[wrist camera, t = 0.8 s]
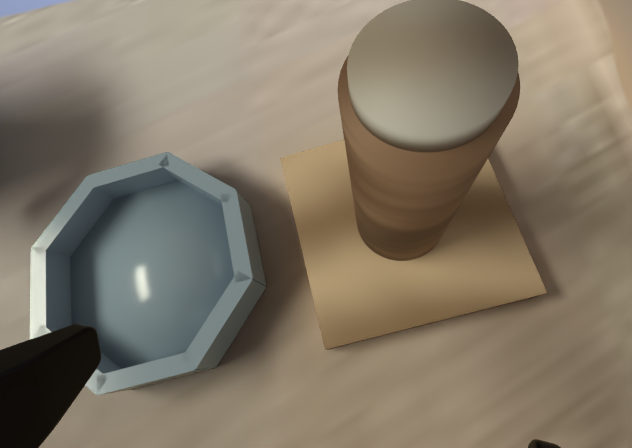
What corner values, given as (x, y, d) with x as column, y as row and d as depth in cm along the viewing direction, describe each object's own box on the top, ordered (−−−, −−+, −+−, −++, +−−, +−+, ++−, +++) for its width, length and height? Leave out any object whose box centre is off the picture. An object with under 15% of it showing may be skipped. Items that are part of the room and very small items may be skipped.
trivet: (538, 295, 20) (546, 292, 19) (327, 349, 20) (325, 349, 19) (461, 114, 23) (464, 104, 22) (283, 165, 24) (280, 158, 23)
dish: (279, 351, 21) (266, 351, 18) (69, 405, 21) (29, 412, 19) (241, 155, 24) (226, 134, 22) (64, 207, 25) (31, 191, 23)
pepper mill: (457, 247, 20) (567, 113, 9) (370, 271, 20) (363, 171, 9) (427, 169, 21) (488, -34, 10) (346, 191, 22) (316, 20, 10)
